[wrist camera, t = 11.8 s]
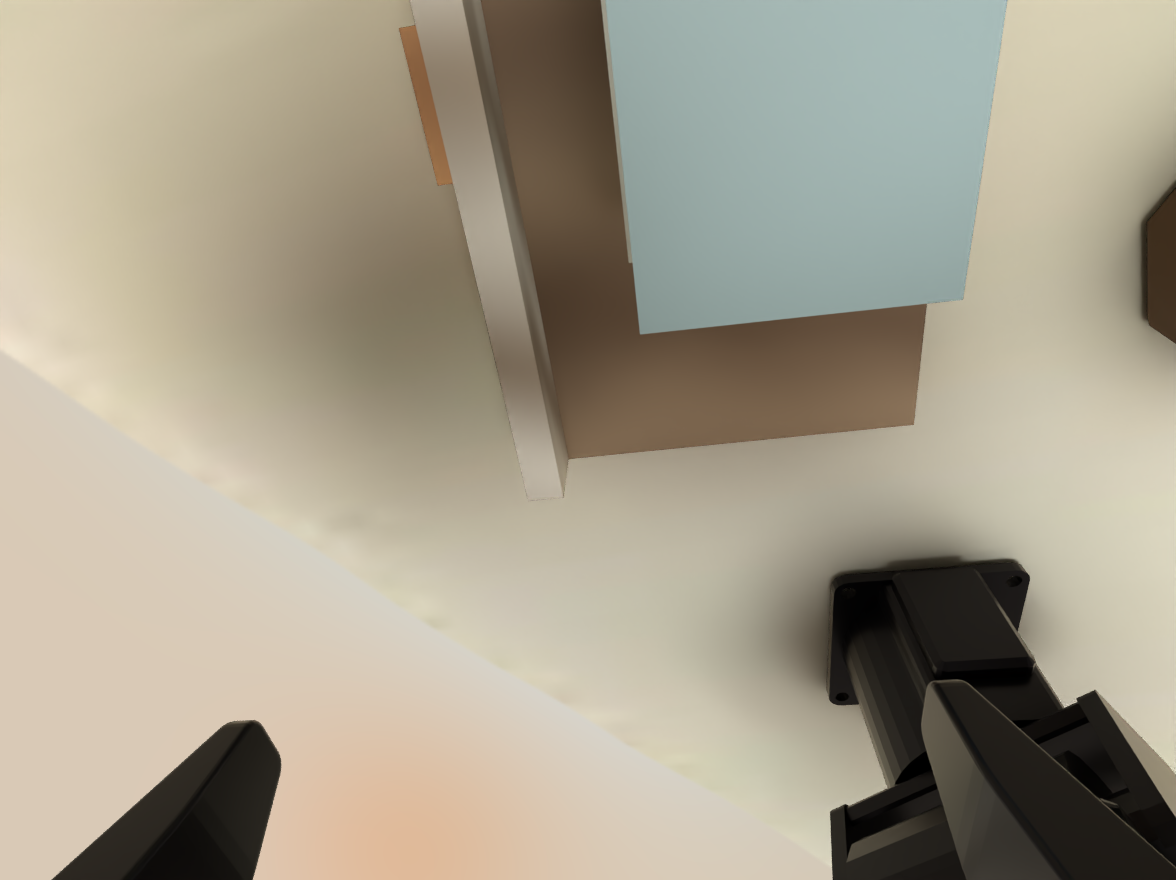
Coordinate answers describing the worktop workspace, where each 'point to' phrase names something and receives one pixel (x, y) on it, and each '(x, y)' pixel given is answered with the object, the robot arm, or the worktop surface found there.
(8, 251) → the worktop surface
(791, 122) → the product carton
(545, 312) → the shelf board
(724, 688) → the worktop surface
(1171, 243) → the beer bottle
